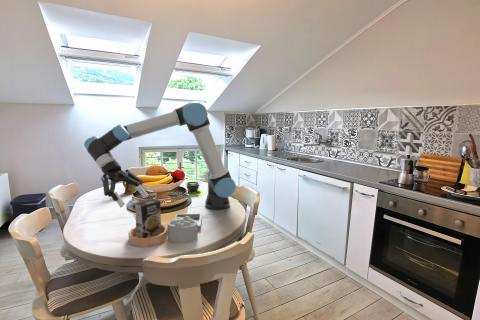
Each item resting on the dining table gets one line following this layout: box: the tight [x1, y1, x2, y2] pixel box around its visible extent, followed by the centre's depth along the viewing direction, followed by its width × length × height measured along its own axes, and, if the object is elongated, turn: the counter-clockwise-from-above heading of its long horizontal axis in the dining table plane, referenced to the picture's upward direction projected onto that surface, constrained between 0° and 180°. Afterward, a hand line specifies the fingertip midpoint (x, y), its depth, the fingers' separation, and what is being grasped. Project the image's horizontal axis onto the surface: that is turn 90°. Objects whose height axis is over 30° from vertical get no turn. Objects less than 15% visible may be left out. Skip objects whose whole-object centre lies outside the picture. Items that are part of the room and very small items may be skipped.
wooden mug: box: [122, 177, 137, 195], centre depth 175 cm, size 9×14×18 cm, turn 153°
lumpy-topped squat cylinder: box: [166, 216, 199, 244], centre depth 113 cm, size 10×13×9 cm
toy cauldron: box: [184, 178, 204, 197], centre depth 180 cm, size 15×15×11 cm
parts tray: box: [174, 212, 203, 231], centre depth 127 cm, size 14×16×2 cm
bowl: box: [128, 223, 168, 248], centre depth 112 cm, size 16×16×4 cm
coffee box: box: [134, 198, 162, 238], centre depth 111 cm, size 9×6×16 cm
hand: (135, 201), depth 112 cm, fingers open, 13 cm apart
